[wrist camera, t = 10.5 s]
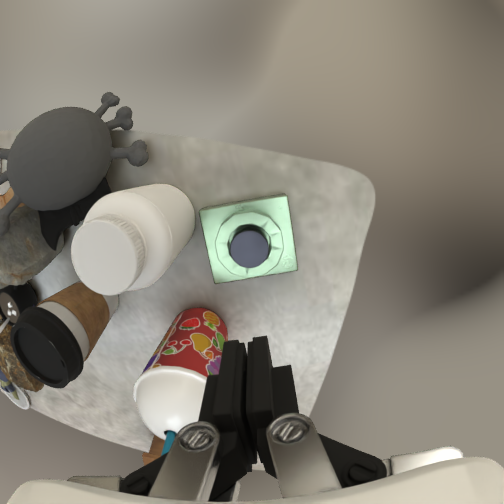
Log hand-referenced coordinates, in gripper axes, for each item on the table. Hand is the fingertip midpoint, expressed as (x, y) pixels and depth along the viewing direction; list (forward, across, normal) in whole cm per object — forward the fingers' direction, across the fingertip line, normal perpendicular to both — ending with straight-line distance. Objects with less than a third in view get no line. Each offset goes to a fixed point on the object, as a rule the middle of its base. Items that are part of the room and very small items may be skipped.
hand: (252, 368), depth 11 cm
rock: (+18, +37, +11) cm, 43 cm away
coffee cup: (+22, +21, +4) cm, 31 cm away
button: (+19, 0, 0) cm, 19 cm away
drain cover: (+21, +55, +23) cm, 63 cm away
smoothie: (+22, +8, +10) cm, 26 cm away
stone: (+15, +31, -7) cm, 35 cm away
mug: (+22, +33, 0) cm, 39 cm away
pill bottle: (+22, +10, -4) cm, 25 cm away
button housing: (+22, 0, 0) cm, 22 cm away
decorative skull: (+18, +20, -19) cm, 33 cm away
